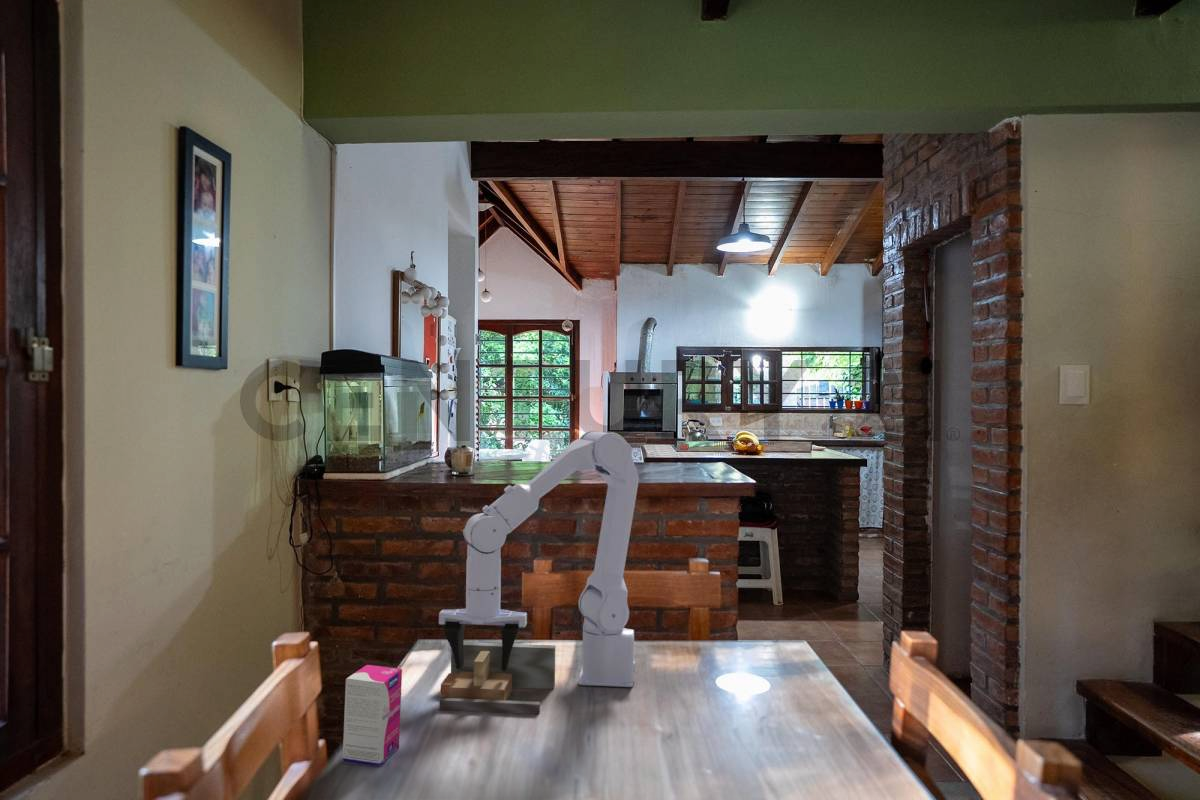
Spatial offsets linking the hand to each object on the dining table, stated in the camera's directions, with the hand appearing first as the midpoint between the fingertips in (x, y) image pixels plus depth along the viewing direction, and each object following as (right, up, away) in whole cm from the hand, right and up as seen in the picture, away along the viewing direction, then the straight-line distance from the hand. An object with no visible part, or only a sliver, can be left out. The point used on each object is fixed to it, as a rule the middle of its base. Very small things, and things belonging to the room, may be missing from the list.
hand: (482, 667), depth 121 cm
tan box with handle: (0, -5, 0) cm, 5 cm away
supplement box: (-12, -5, -21) cm, 24 cm away
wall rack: (+2, -5, -1) cm, 5 cm away
